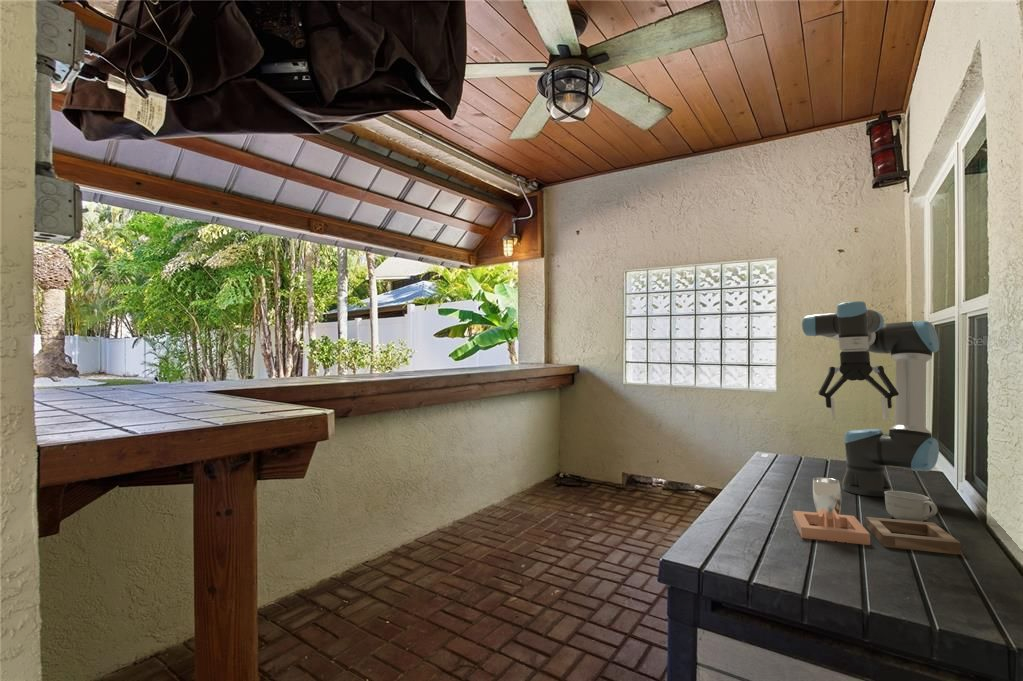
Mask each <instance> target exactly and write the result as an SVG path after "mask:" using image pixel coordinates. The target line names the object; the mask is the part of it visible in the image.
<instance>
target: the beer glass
mask: <svg viewBox="0 0 1023 681" xmlns="http://www.w3.org/2000/svg"><path fill="white" fill-rule="evenodd" d="M812 497H813V503H814V507H815V510H816V513H817V515H818V524H817V525H816V526H822V527H832V528H842V527H840V522H839V517H840V515H841V508H842V490H841V484H840V480H838V479H835V478H831V477H814V478H812Z"/></svg>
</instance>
